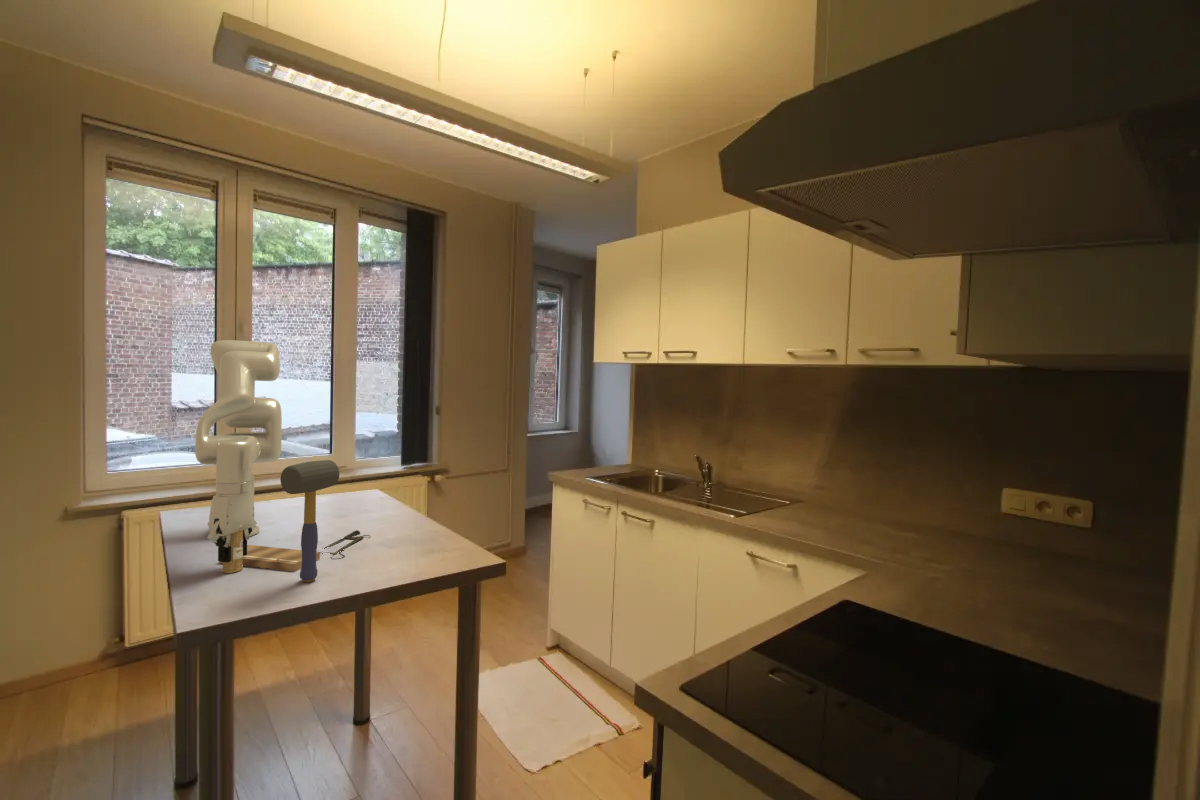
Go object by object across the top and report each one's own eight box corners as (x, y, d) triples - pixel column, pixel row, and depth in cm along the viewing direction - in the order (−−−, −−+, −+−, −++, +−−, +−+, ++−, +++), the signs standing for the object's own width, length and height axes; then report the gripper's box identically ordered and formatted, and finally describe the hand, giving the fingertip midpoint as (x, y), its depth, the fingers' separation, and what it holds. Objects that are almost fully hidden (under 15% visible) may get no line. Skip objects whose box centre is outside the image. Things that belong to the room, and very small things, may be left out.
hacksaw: (355, 533, 180) (355, 529, 180) (385, 536, 178) (385, 532, 178) (305, 557, 156) (305, 552, 156) (339, 561, 154) (339, 555, 154)
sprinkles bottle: (243, 571, 142) (244, 520, 142) (221, 574, 140) (222, 522, 139) (242, 566, 146) (243, 515, 145) (221, 569, 144) (222, 517, 143)
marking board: (219, 563, 147) (219, 555, 147) (248, 551, 157) (249, 544, 157) (294, 571, 144) (294, 563, 144) (319, 559, 154) (319, 551, 154)
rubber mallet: (317, 570, 146) (320, 456, 144) (339, 575, 143) (342, 459, 142) (275, 586, 134) (277, 463, 133) (298, 592, 131) (300, 466, 130)
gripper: (246, 480, 151) (245, 547, 152) (191, 493, 134) (190, 568, 135) (271, 483, 150) (270, 549, 150) (218, 496, 133) (217, 571, 134)
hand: (232, 557), depth 143 cm, fingers closed on sprinkles bottle, 4 cm apart
